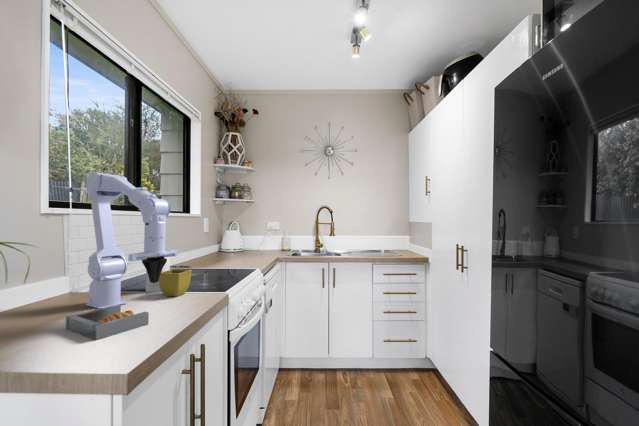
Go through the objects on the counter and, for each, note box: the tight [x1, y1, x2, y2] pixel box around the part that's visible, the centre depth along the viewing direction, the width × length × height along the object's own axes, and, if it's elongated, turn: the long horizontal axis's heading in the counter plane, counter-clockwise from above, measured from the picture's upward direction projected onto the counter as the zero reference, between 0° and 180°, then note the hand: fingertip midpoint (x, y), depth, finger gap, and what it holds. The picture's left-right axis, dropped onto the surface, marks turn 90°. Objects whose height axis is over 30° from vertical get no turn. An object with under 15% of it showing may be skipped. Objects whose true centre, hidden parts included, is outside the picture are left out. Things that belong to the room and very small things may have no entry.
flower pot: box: [159, 269, 192, 297], centre depth 117 cm, size 9×9×9 cm
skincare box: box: [145, 255, 171, 293], centre depth 125 cm, size 8×7×16 cm
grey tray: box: [65, 304, 150, 341], centre depth 82 cm, size 15×13×3 cm
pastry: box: [97, 309, 135, 323], centre depth 82 cm, size 9×7×4 cm
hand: (154, 282), depth 94 cm, fingers closed
